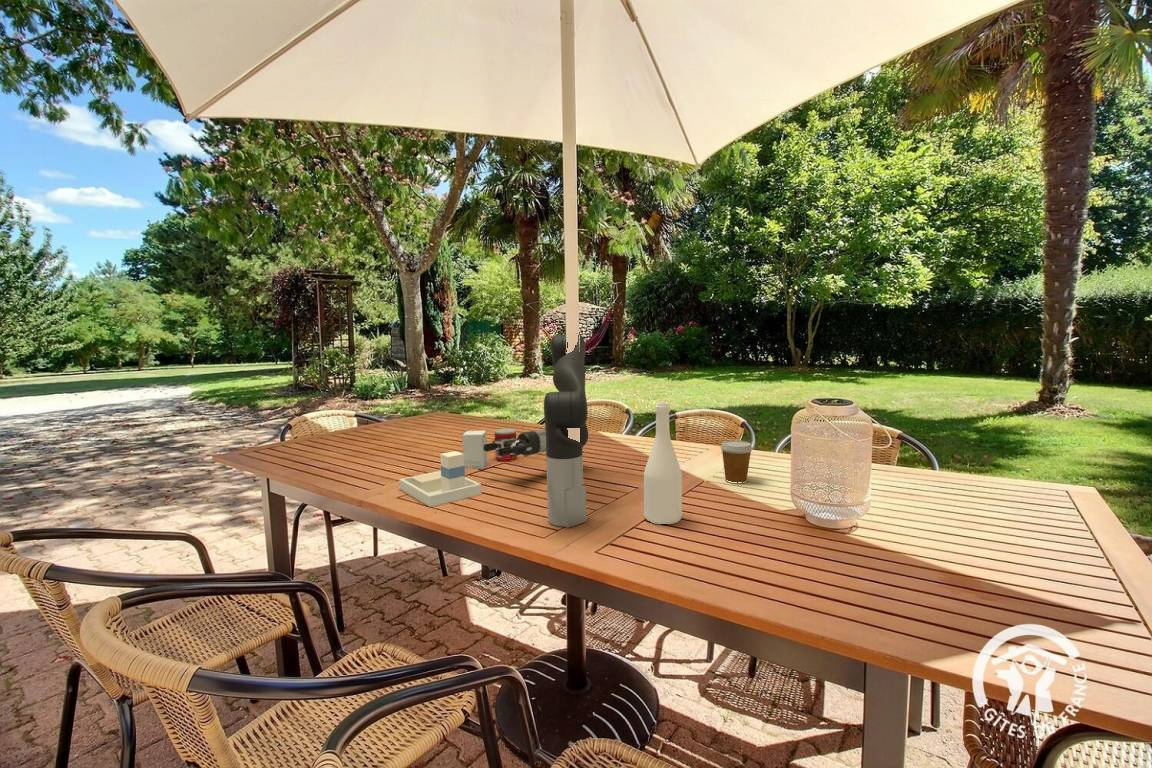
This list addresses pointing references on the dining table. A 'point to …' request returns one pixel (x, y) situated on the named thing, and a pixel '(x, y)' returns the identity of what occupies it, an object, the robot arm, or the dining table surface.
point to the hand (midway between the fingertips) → (491, 450)
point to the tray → (440, 492)
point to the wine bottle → (662, 475)
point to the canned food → (504, 435)
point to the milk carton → (452, 471)
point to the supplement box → (474, 449)
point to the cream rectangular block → (428, 482)
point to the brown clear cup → (736, 460)
